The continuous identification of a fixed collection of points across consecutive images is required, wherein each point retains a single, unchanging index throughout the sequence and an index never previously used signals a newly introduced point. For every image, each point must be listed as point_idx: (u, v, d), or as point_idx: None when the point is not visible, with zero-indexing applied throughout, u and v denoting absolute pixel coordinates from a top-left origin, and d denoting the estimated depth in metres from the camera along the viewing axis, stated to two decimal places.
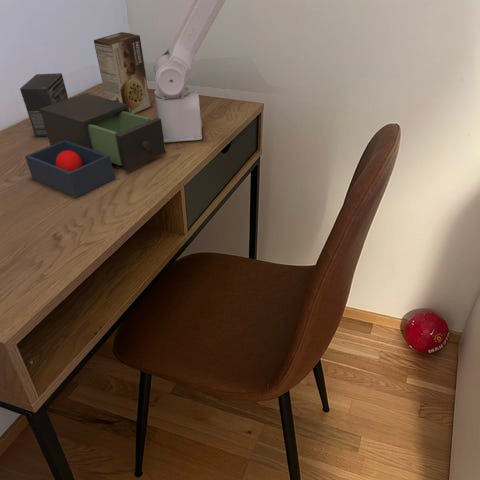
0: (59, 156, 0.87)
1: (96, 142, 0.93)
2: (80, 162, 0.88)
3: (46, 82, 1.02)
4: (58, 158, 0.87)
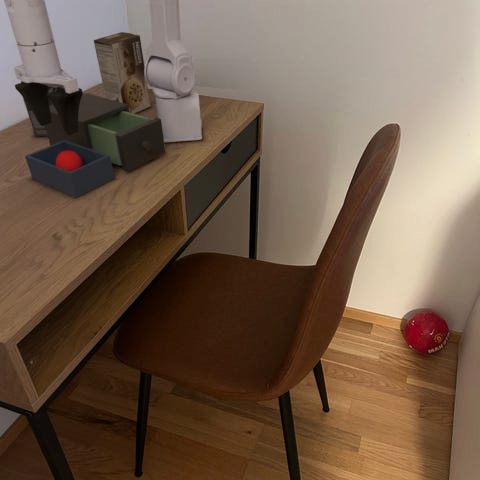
0: (59, 156, 0.87)
1: (96, 142, 0.93)
2: (80, 162, 0.88)
3: None
4: (58, 158, 0.87)
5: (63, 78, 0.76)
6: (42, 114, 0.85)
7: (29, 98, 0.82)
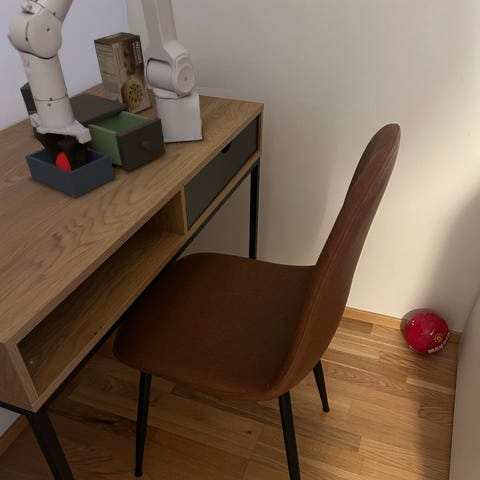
0: (59, 156, 0.87)
1: (96, 142, 0.93)
2: None
3: None
4: (58, 158, 0.87)
5: (76, 129, 0.81)
6: None
7: (48, 146, 0.87)
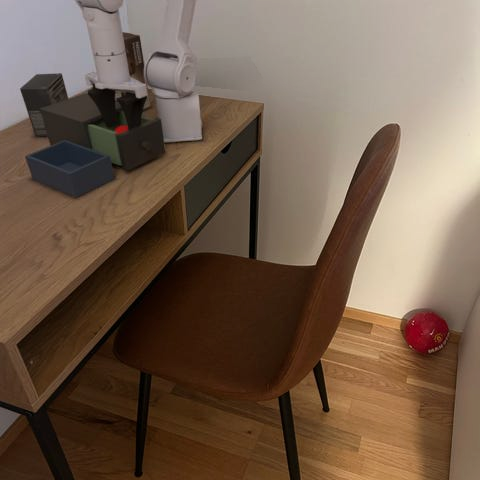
0: (116, 130, 0.92)
1: (96, 142, 0.93)
2: None
3: (46, 82, 1.02)
4: None
5: (134, 84, 0.84)
6: (109, 117, 0.93)
7: (99, 102, 0.90)
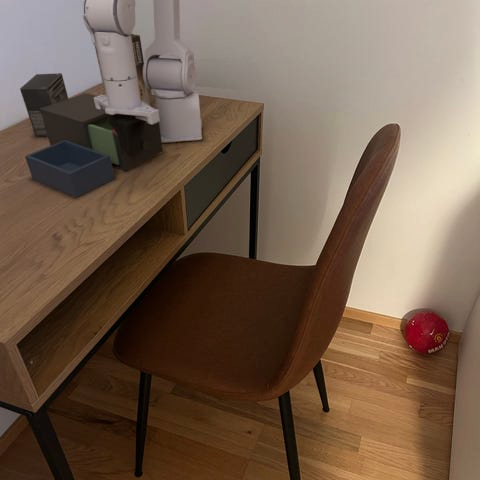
0: None
1: (94, 141, 0.93)
2: None
3: (46, 82, 1.02)
4: None
5: (146, 110, 0.81)
6: None
7: (120, 130, 0.85)
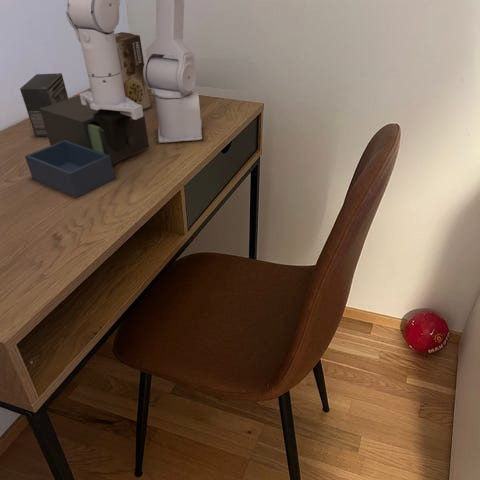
0: None
1: None
2: None
3: (46, 82, 1.02)
4: None
5: (129, 105, 0.83)
6: None
7: (106, 126, 0.87)
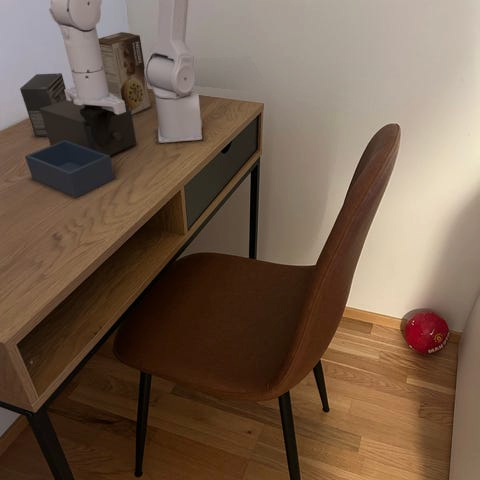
0: None
1: None
2: None
3: (46, 82, 1.02)
4: (88, 124, 0.96)
5: (112, 101, 0.85)
6: (102, 136, 0.92)
7: (92, 122, 0.89)
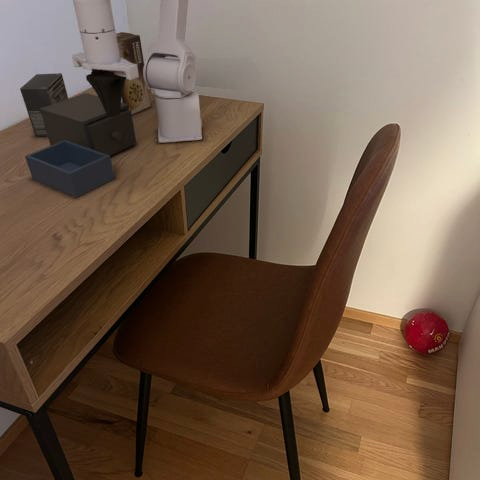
0: None
1: None
2: None
3: (46, 82, 1.02)
4: None
5: (124, 65, 0.78)
6: None
7: (99, 89, 0.83)
